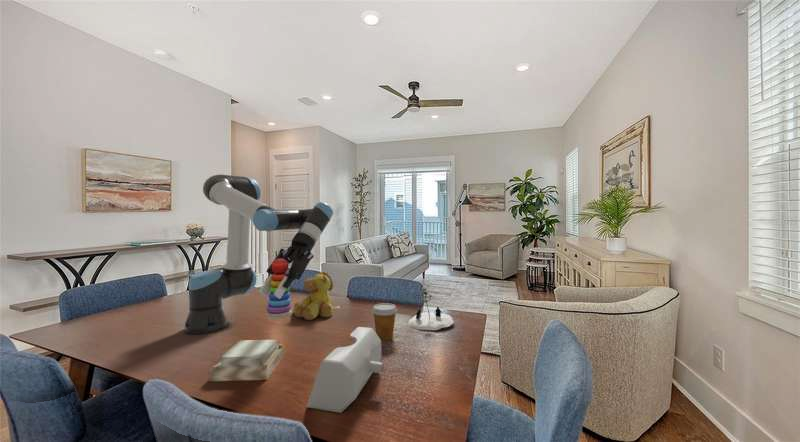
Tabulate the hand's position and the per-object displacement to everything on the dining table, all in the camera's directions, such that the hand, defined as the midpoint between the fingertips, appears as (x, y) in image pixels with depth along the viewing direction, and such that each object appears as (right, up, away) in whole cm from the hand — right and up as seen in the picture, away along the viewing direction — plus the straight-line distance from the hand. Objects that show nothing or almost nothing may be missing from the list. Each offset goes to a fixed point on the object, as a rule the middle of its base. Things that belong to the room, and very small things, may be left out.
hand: (269, 295), depth 97 cm
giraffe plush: (0, -22, +53) cm, 57 cm away
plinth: (-6, -23, +1) cm, 24 cm away
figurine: (+54, -22, +39) cm, 70 cm away
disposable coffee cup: (+35, -22, +24) cm, 47 cm away
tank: (+28, -23, -10) cm, 38 cm away
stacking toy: (+2, -8, +4) cm, 9 cm away
